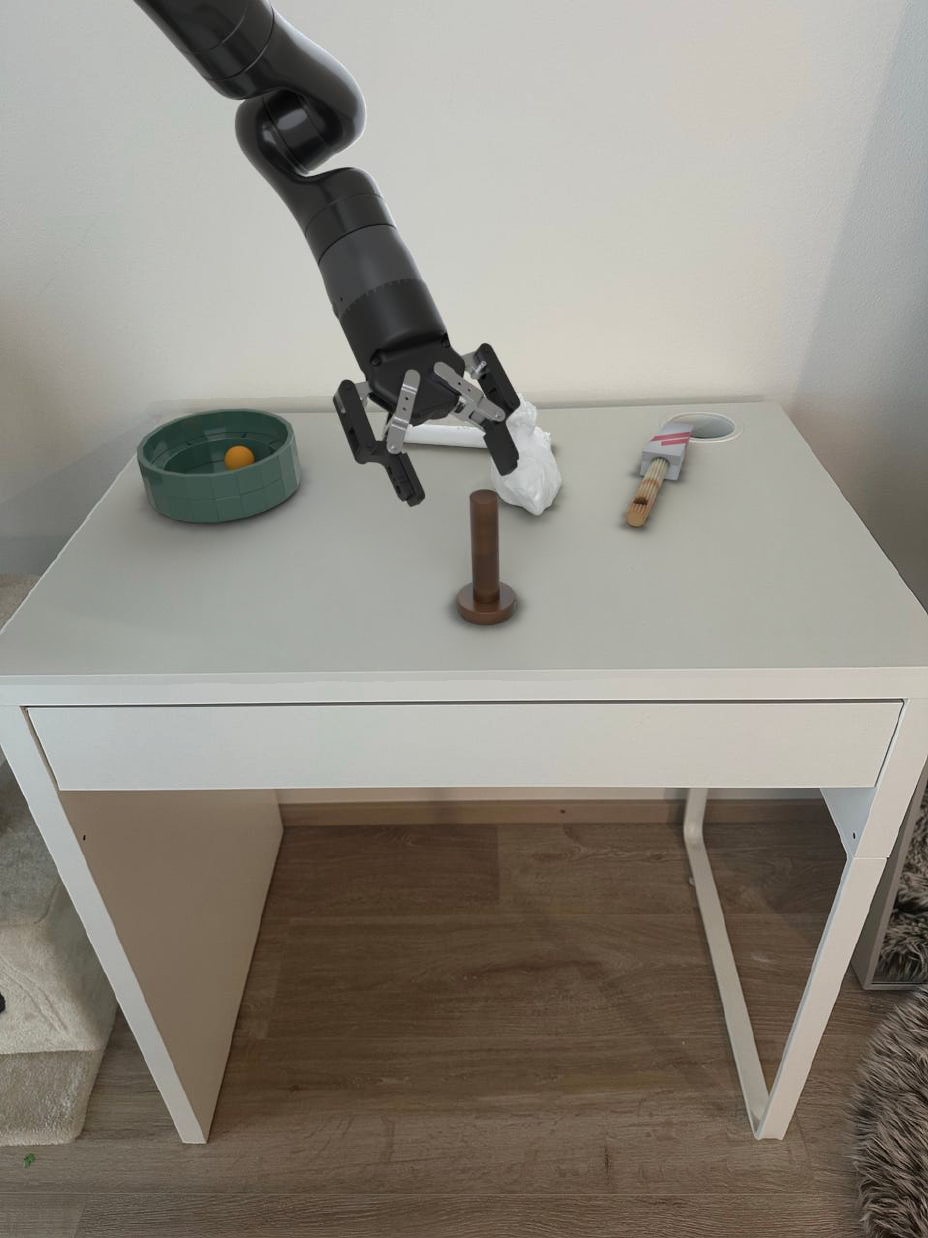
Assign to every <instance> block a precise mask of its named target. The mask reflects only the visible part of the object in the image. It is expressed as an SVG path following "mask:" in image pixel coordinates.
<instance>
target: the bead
mask: <svg viewBox="0 0 928 1238" xmlns="http://www.w3.org/2000/svg"><path fill="white" fill-rule="evenodd" d="M254 463H255V460H254V456H253V454H252V452H251V451H250V450H249V449H247V448H246V447H243V446H235V447H233V448H231V449H230V450H229V451H228V452H227V453H226V455H225V465H226V468H227V469H228V470H235V469H238V468H241V467H244V466H248V465H251V464H254Z"/></svg>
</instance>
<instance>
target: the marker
mask: <svg viewBox="0 0 928 1238" xmlns="http://www.w3.org/2000/svg"><path fill="white" fill-rule="evenodd" d="M543 432H544V434H545V435H546V436H547V438H548V441H549V444H550V446H551V447H552V437H551V436H552V433H551V432H547V431H543ZM485 434H486V433H484V432H483V431H481V430H480V429H478V428H477V427H474V426H473V427H471V426H469V425H468V426H467V425H463V426H462V425H461V424H459V425H457V426H455V425H442V424H441V425H440V424H426V423H423V424H421V425H418V426H415V427H413V426H412V425H410V424H409V425H408V427H407V430H406V433H405V438H404V442H403V443H408V444H420V445H421V444H422V445H436V446H449V447H464V448H465V447H466V448H478V449H479V448H480V449H488V448H487V446H486V443H485V441H484V439H483V436H484V435H485Z"/></svg>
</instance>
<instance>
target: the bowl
mask: <svg viewBox="0 0 928 1238" xmlns="http://www.w3.org/2000/svg"><path fill="white" fill-rule="evenodd" d="M292 425H293V424H292V423H291V422H289V421H288V420H287V419H286V418H284V417H283V416H281V415H278V414H275V413H272V412H269V411H266V410H260V409H254V408H253V409H252V408H220V409H213V410H205V411H199V412H196V413H192V414H189V415H185V416H181V417H177V418H175V419H173V420H172V419H171V420H169V421H168V422H166V423H163V424H161V425H158V426H157V427H155V428H154V429H153V430H151V431H149V433H147V434H146V435H145V436H143V438H142V440H141V441H140V442H139V444H138V445H137V447H136V460H137V464H138V467H139V471H140V475H141V478H142V483H143V486H144V489H145V493H146V497H147V501H148V504H149V505H150V506H152V508H153V509H154V510H155V511H156V512H157V513H158V514H161V515H163V516H166V517H167V518H170V519H172V520H176V521H177V520H178V521H183V522H189V523H222V522H227V521H235V520H239V519H244V518H248V517H252V516H254V515H257V514H260V513H262V512H266V511H269V510H271V509H272V508H274V507H276V506H277V505H279V504H281V503H283V502H284V501H286V500H288V498H289V497H290V496H291V495H293V493H294V492H295V491H297V489H298V488H299V486H300V485H299V484H300V481H301V479H302V473H301V466H300V459H299V453H298V446H297V440H296V434H295V431H294V428H293V426H292ZM235 446H243V447H246V448H247V449H249V450H250V451H251V452H252V454H253V456H254V460H255V463H254V464H251V465H248V466H244V467H241V468H238V469H235V470H228V469H227V468H226V465H225V455H226V453H227V452H228V451H229V450H230V449H231V448H233V447H235Z"/></svg>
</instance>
